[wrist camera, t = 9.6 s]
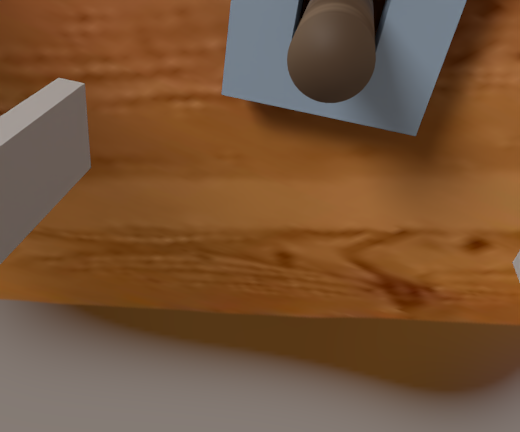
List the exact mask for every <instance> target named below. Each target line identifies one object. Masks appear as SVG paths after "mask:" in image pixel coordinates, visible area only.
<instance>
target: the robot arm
mask: <svg viewBox="0 0 520 432" xmlns="http://www.w3.org/2000/svg"><path fill="white" fill-rule="evenodd" d="M90 168H91V161H90V148H89V135H88V121H87V108H86V95H85V83H81V82H76V81H71V80H67V79H62V78H57V79H56V80H54V81H53V82H51V83H50V84H48V85H47V86H45V87H44V88H42V89H41V90H39V91H38V92H36V93H35V94H33V95H32V96H30V97H29V98H27V99H26V100H24V101H23V102H21V103H20V104H18V105H17V106H15V107H14V108H12V109H11V110H9V111H8V112H6V113H5V114H3V115H2V116H0V264H1V263H2V262H3V261H4V260H5V259H6V258H7V256H8V255H9V254H10V253H11V252H12V251H13V250H14V249H15V248H16V247H17V246H18V245H19V244H20V243H21V242H22V240H23V239H24V238H25V237H26V236H27V235H28V234H29V233H30V232H31V231H32V230H33V229H34V228H35V227H36V226H37V224H38V223H39V222H40V221H41V220H42V219H43V218H44V217H45V216H46V215H47V214H48V213H49V212H50V211H51V210H52V209H53V207H54V206H55V205H56V204H57V203H58V202H59V201H60V200H61V199H62V198H63V197H64V196H65V195H66V194H67V193H68V191H69V190H70V189H71V188H72V187H73V186H74V185H75V184H76V183H77V182H78V181H79V180H80V179H81V178H82V177H83V175H84V174H85V173H86V172H87V171H88V170H89V169H90ZM512 263H513V265H514V268H515V271H516V273H517V276H518V279H519V281H520V251H519V253H518V254H517V256H516V258H515V259H514V261H513V262H512Z"/></svg>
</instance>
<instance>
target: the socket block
mask: <svg viewBox="0 0 520 432" xmlns="http://www.w3.org/2000/svg"><path fill="white" fill-rule="evenodd" d="M466 1H467V0H385V3H384V7H383V11H382V14H381V18H380V21H379V25H378V28H377V32H376V35H375V52H376V62H375V68H374V72H373V74H372V77H371V79H370V81H369V82H368V84H367V85H366V86H365V87H364V89H363V90H362V91H360V92H359V93H358V94H357V95H355V96H354V97H352V98H350V99H348V100H345V101H342V102H338V103H323V102H318V101H315V100H313V99H310V98H309V97H307V96H305V95H304V94H303V93H302V92H301V91H299V90H298V88H297V87H296V86H295V85H294V83H293V81H292V79H291V77H290V75H289V71H288V66H287V54H288V49H289V46H290V43H291V41H292V38H293V36H294V34H295V32H296V30H297V28H298V25H299V20H300V15H301V10H302V4H303V0H231V7H230V17H229V26H228V36H227V46H226V56H225V65H224V75H223V85H222V95H226V96H230V97H235V98H240V99H244V100H249V101H254V102H258V103H263V104H268V105H272V106H277V107H282V108H287V109H291V110H296V111H301V112H305V113H310V114H315V115H319V116H324V117H329V118H333V119H338V120H343V121H347V122H352V123H357V124H361V125H366V126H371V127H375V128H380V129H385V130H389V131H394V132H399V133H403V134H408V135H413V136H416V134H417V131H418V129H419V126H420V123H421V121H422V118H423V115H424V113H425V110H426V107H427V105H428V102H429V99H430V97H431V94H432V91H433V89H434V86H435V83H436V81H437V78H438V75H439V73H440V70H441V67H442V65H443V62H444V59H445V57H446V54H447V51H448V49H449V46H450V43H451V41H452V38H453V35H454V33H455V30H456V27H457V25H458V22H459V19H460V17H461V14H462V11H463V9H464V6H465V3H466Z"/></svg>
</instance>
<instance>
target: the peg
mask: <svg viewBox="0 0 520 432" xmlns="http://www.w3.org/2000/svg"><path fill="white" fill-rule="evenodd" d="M375 62H376V52H375V31H374V10H373V0H310V1H309V4H308V6H307V8H306V10H305V12H304V14H303V17H302V19H301V21H300V23H299V25H298V28H297V30H296V32H295V34H294V36H293V38H292V41H291V43H290V46H289V49H288V54H287V66H288V71H289V75H290V77H291V79H292V81H293V83H294V85H295V86H296V87H297V88H298V90H299V91H301V92H302V93H303V94H304V95H305V96H307V97H309V98H310V99H313V100H315V101H318V102H323V103H338V102H342V101H345V100H348V99H350V98H352V97H354V96H355V95H357V94H358V93H359V92H360V91H362V90H363V89H364V87H365V86H366V85H367V84H368V82H369V81H370V79H371V77H372V74H373V72H374V68H375Z"/></svg>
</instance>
